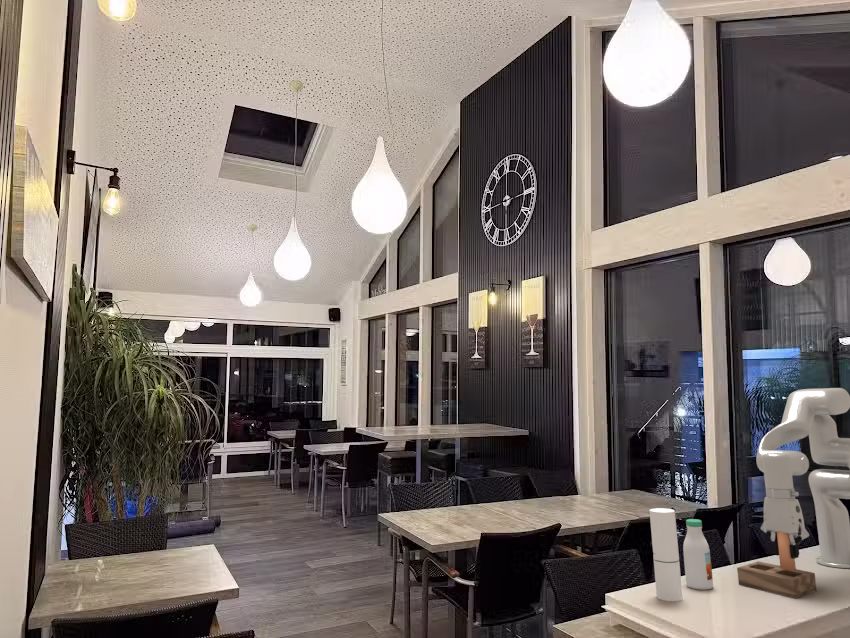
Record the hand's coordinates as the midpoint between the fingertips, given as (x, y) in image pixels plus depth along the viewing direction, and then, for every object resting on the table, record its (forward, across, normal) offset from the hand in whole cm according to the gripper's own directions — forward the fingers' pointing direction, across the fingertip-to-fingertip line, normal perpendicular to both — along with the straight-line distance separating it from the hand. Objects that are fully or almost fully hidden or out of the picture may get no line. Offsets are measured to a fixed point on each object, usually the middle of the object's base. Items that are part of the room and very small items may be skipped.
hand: (786, 555), depth 181 cm
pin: (+4, 0, 0) cm, 4 cm away
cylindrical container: (+11, +18, +33) cm, 39 cm away
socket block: (+10, +4, 0) cm, 11 cm away
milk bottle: (+10, +19, +17) cm, 27 cm away
